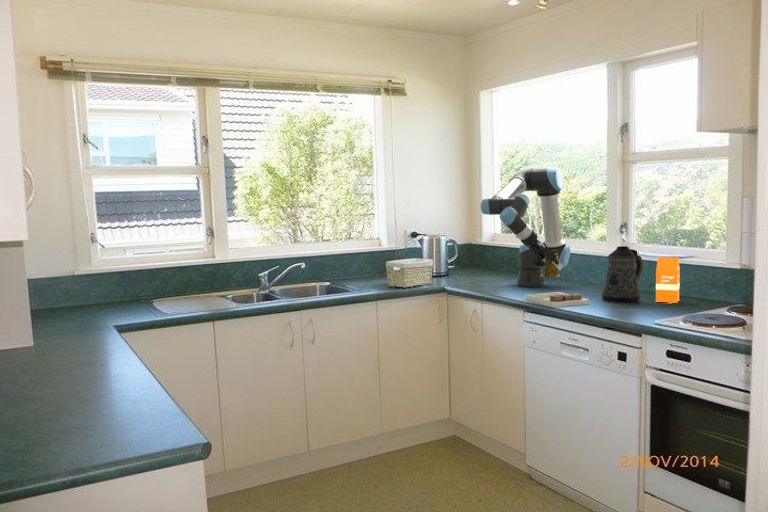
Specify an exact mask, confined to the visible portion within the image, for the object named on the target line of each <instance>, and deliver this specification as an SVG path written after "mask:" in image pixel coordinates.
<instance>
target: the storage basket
mask: <svg viewBox="0 0 768 512" xmlns="http://www.w3.org/2000/svg"><path fill="white" fill-rule="evenodd" d="M385 266H386V267H385V269H386V274H387V275H386V276H387V286H388V285H395V286H401V287H407V286H414V285H421V284H426V283H431V284H432V277H433V275H432V274H433V267H434V260H433V259H431V258H419V257H418V258H417V257H415V258H414V257H413V258H402V259H396V260H390V261H389V260H387V261H386V262H385Z"/></svg>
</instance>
